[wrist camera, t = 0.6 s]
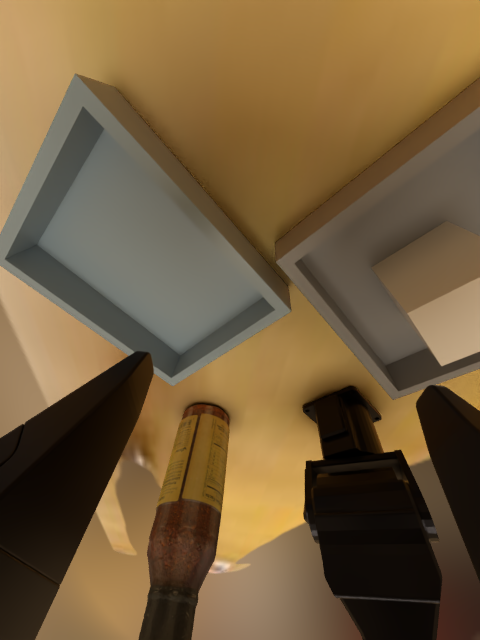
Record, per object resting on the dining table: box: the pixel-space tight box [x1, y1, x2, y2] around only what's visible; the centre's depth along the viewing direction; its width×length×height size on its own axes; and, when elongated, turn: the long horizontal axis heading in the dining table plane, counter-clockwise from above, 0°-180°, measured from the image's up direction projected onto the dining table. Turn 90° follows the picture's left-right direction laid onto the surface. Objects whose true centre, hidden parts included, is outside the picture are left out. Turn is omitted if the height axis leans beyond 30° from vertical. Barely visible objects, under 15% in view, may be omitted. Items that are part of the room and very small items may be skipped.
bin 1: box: [0, 74, 291, 386], centre depth 19 cm, size 17×14×4 cm
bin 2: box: [275, 78, 480, 400], centre depth 17 cm, size 17×14×4 cm
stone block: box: [371, 221, 480, 366], centre depth 16 cm, size 5×5×6 cm
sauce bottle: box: [139, 404, 229, 640], centre depth 24 cm, size 6×6×20 cm
